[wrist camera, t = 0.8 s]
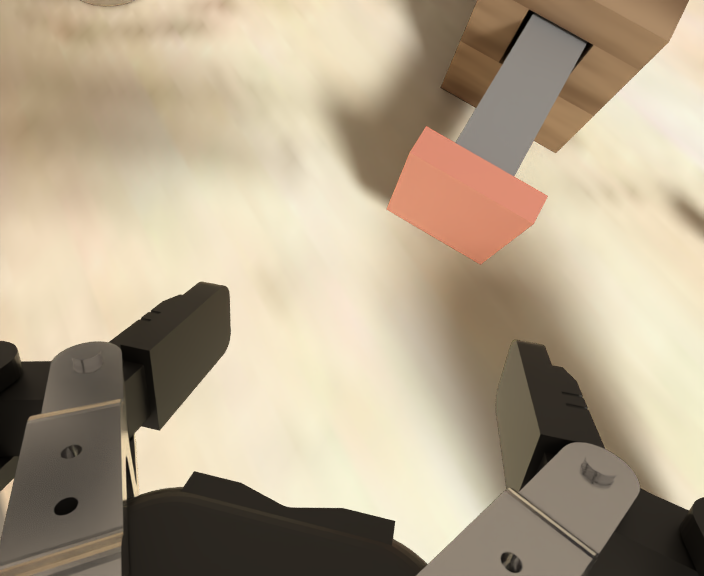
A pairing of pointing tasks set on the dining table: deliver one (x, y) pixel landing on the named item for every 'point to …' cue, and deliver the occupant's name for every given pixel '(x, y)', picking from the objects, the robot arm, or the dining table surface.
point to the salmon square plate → (489, 151)
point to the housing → (592, 66)
